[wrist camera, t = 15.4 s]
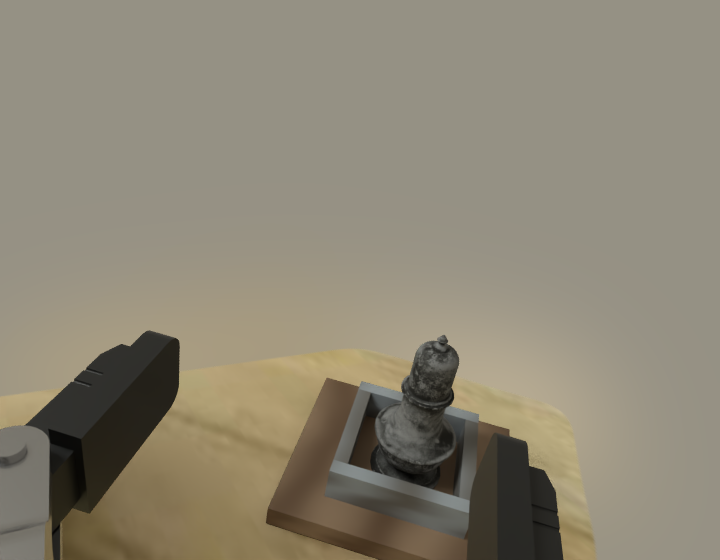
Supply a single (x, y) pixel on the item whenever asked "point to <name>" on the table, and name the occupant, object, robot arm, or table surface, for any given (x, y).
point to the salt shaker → (419, 419)
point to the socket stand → (376, 482)
